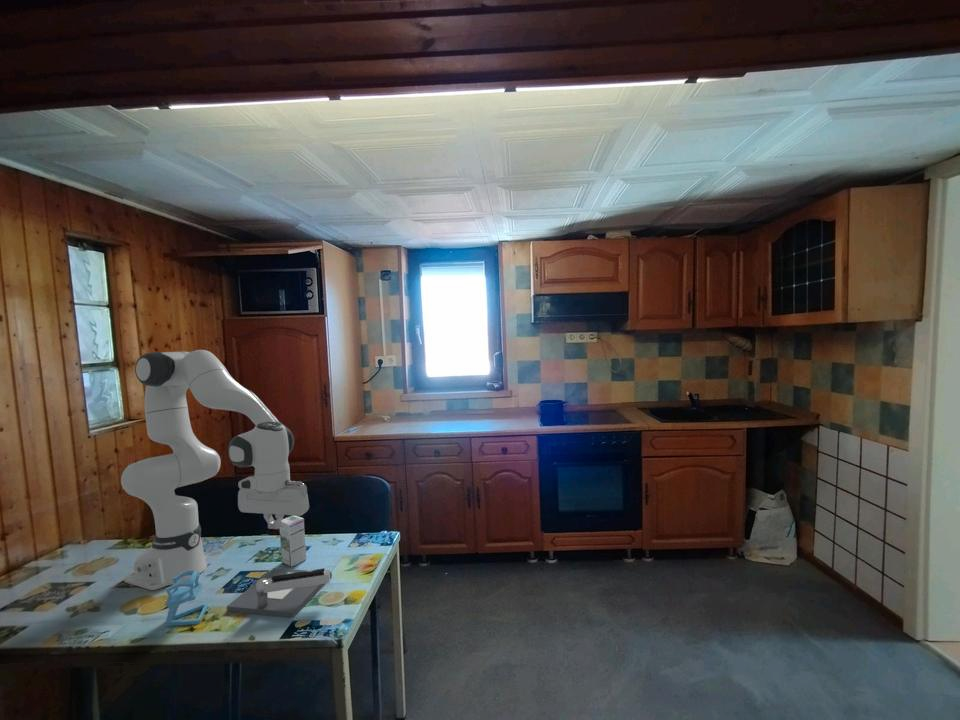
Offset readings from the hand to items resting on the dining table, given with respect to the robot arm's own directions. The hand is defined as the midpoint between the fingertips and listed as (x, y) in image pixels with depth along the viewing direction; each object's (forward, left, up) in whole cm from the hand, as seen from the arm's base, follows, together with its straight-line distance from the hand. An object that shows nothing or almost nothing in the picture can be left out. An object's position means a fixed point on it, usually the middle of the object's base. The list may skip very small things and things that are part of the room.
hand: (274, 527), depth 114 cm
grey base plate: (0, +2, -20) cm, 20 cm away
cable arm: (+7, -3, -15) cm, 17 cm away
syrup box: (-8, +19, -21) cm, 29 cm away
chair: (-19, -11, -21) cm, 30 cm away
